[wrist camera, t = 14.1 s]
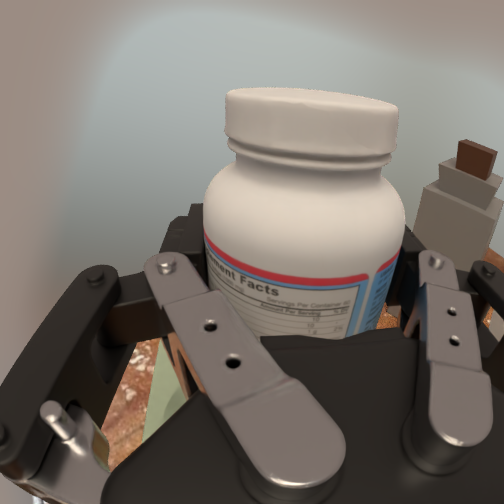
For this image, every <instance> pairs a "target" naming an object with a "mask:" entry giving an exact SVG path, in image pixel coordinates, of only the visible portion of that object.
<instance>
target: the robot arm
mask: <svg viewBox="0 0 504 504" xmlns="http://www.w3.org/2000/svg"><path fill="white" fill-rule="evenodd" d="M385 302H386V304H387V306H401V308H400V311H399V314H398V318H397V327H395V328H385V329H374V330H368V331H365V332H362V333H359V334H356V335H352V336H349V337H346V338H343V339H338V340H334V339H326V338H318V337H311V336H303V335H279V336H260V341H259V340H258V338H257V337H256V336H255V334H254V333H253V332H252V330H251V329H250V328H249V326H248V325H247V324H246V322H245V321H244V320H243V318H242V317H241V316H240V314H239V313H238V312H237V310H236V309H235V308H234V306H233V305H232V304H231V302H230V301H229V300H228V298H227V297H226V296H225V294H224V293H223V292H222V291H221V290H220V289H219V288H217V289H214V290H209V289H208V279H207V267H206V254H205V242H204V227H203V203H201V204H191V207H190V211H189V214H188V216H178V217H177V218H175V219H174V220H173V221H172V222H171V223H170V225H169V227H168V231H167V233H166V235H165V238H164V241H163V243H162V246H161V249H160V251H159V254H157V255H154V256H152V257H151V258H149V259H148V260H147V261H146V262H145V264H144V271H142V272H140V273H137V274H133V275H128V276H123V277H119V276H118V273H117V270H116V269H115V268H114V267H112V266H109V265H96V266H92V267H90V268H87V269H86V270H84V271H82V272H81V273H80V274H79V275H78V276H77V277H76V278H75V280H74V281H73V282H72V283H71V285H70V286H69V287H68V289H67V290H66V291H65V292H64V294H63V295H62V296H61V298H60V299H59V300H58V302H57V303H56V304H55V306H54V307H53V308H52V310H51V311H50V312H49V314H48V315H47V316H46V318H45V319H44V321H43V322H42V323H41V325H40V326H39V328H38V329H37V331H36V332H35V333H34V335H33V336H32V338H31V339H30V341H29V342H28V344H27V345H26V347H25V348H24V350H23V351H22V353H21V354H20V356H19V357H18V359H17V360H16V362H15V364H14V365H13V367H12V368H11V370H10V372H9V373H8V375H7V376H6V378H5V379H4V381H3V383H2V384H1V386H0V472H1V473H2V474H3V476H4V477H6V478H7V479H8V480H10V481H11V482H13V483H14V484H16V485H17V486H19V487H20V488H22V489H23V490H25V491H27V492H28V493H30V494H32V495H33V496H36V497H39V498H40V499H42V500H44V501H46V502H47V503H49V504H504V335H503V336H502V338H501V340H500V341H499V342H498V340H497V339H496V338H495V337H494V335H493V334H492V333H491V332H490V330H489V329H488V328H487V327H486V326H485V324H484V323H483V320H484V318H485V316H486V314H487V312H488V310H489V309H490V307H492V308H493V309H494V310H495V311H496V312H497V313H498V315H499V316H500V317H501V318H502V319H503V321H504V274H503V273H502V272H501V271H500V270H499V269H498V268H497V267H496V266H494V265H492V264H491V263H488V262H486V261H481V260H477V261H474V262H473V264H472V267H471V269H470V272H468V271H463V270H458V269H455V265H454V263H453V261H452V260H451V259H450V258H449V257H448V256H446V255H445V254H443V253H440V252H438V251H434V250H427V249H426V248H425V246H424V245H423V244H422V243H421V242H420V240H419V239H418V238H417V237H416V236H415V235H414V233H413V232H411V230H410V229H409V228H408V227H407V226H406V224H405V231H404V235H403V239H402V245H401V248H400V252H399V256H398V259H397V263H396V266H395V270H394V273H393V277H392V280H391V283H390V286H389V290H388V293H387V296H386V299H385ZM155 338H160V340H161V342H162V344H163V347H164V349H165V351H166V353H167V356H168V358H169V360H170V362H171V365H172V367H173V369H174V371H175V373H176V376H177V378H178V381H179V383H180V386H181V389H182V392H183V394H184V396H185V399H186V402H185V403H184V404H183V405H182V406H181V407H180V408H179V409H178V410H177V411H176V412H175V413H174V414H173V415H172V416H171V417H170V418H169V419H168V420H167V421H166V422H165V423H163V424H162V425H161V426H160V427H159V428H158V429H157V430H156V431H155V432H154V433H153V434H152V435H151V436H150V437H149V438H148V439H146V440H145V441H144V442H143V443H142V444H141V445H140V446H139V447H138V448H137V449H136V450H135V451H133V452H132V453H131V454H130V455H129V456H128V457H127V458H126V459H125V460H124V461H122V462H121V463H120V464H119V465H118V466H117V467H116V468H115V469H114V470H113V471H112V473H111V472H110V470H109V466H108V457H109V443H108V440H107V438H106V437H105V435H104V434H103V433H102V431H101V427H102V425H103V422H104V420H105V417H106V415H107V412H108V410H109V408H110V405H111V403H112V400H113V398H114V395H115V393H116V391H117V388H118V386H119V384H120V381H121V379H122V376H123V374H124V372H125V370H126V367H127V365H128V363H129V360H130V358H131V356H132V354H133V351H134V349H135V347H136V344H137V342H142V341H146V340H151V339H155Z"/></svg>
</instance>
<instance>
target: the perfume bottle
mask: <svg viewBox="0 0 504 504" xmlns="http://www.w3.org/2000/svg"><path fill="white" fill-rule="evenodd" d="M496 155H497V151H495V150H493V149H490V148H487V147H485V146H482V145H480V144H477V143H475V142H472V141H469V140H467V139H466V140H461V141H459V143H458V152H457V158H455V157H454V158H452V159H449V160H447V161H444V162H442V163H439V179H438V180H437V181H435V182H433V183H431V184H429V185H428V186H426V187H424V188H423V193H422V197H421V201H420V205H419V209H418V213H417V217H416V221H415V225H414V229H413V233H414V235H415V236H416V237H417V238H418V239H419V240H420V242H421V243H422V244H423V245H424V246H425V248H426V249H427V250H434V251H438V252H440V253H443V254H445V255H446V256H448V257H449V258H450V259H451V260H452V261H453V263H454V265H455V269H458V270H463V271H468V272H470V269H471V267H472V264H473V262H474V261H477V260H481V261H483V260H484V257H485V255H486V252H487V249H488V247H489V244H490V241H491V239H492V236H493V233H494V230H495V227H496V225H497V222H498V219H499V215H500V212H501V210H502V206H503V203H504V201H502V200H500V199H498V198H496V197H494V196H495V194H496V192H497V190H498V188H499V186H500V184H501V182H502V180H503V178H502V177H500V176H498V175H496V174H494V173H491V172H492V169H493V166H494V162H495V159H496ZM400 308H401V306H389V307H388V310H387V312H388V313H390V314H391V315H393V316H395V317H396V318H398V314H399V311H400Z"/></svg>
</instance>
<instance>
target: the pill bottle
mask: <svg viewBox="0 0 504 504" xmlns="http://www.w3.org/2000/svg"><path fill="white" fill-rule="evenodd" d="M398 117H399V111H398V108H397V107H396V106H395V105H393V104H390V103H387V102H384V101H380V100H376V99H372V98H367V97H362V96H357V95H351V94H344V93H337V92H329V91H320V90H311V89H299V88H276V87H274V88H273V87H271V88H270V87H268V88H267V87H262V88H261V87H260V88H242V89H235V90H231V91H229V92H228V93H227V94H226V126H225V130H224V131H225V134H226V135H227V136H228V137H229V139H228V142H227V144H228V147H229V148H230V149H231V150H232V151H234V152H235V153H236V161H235V162H232V163H231V164H229V165H227V166H226V167H225V168H223V169H222V170H221V171H220V172H219V173H218V174H217V175H216V176H215V177H214V178H213V179H212V181H211V183H210V184H209V187H208V188H207V191H206V194H205V197H204V202H203V227H204V242H205V254H206V267H207V279H208V289H209V290H214V289H217V288H219V289H220V290H221V291H222V292H223V293H224V294H225V296H226V297H227V298H228V300H229V301H230V302H231V304H232V305H233V306H234V308H235V309H236V310H237V312H238V313H239V314H240V316H241V317H242V318H243V320H244V321H245V322H246V324H247V325H248V326H249V328H250V329H251V330H252V332H253V333H254V334H255V336H256V337H257V338H258V340H259V341H260V336H279V335H303V336H311V337H318V338H326V339H334V340H338V339H343V338H346V337H349V336H352V335H356V334H359V333H362V332H365V331H368V330H374V329H376V326H377V323H378V320H379V317H380V314H381V311H382V308H383V305H384V302H385V299H386V296H387V293H388V290H389V286H390V283H391V280H392V277H393V273H394V270H395V266H396V263H397V259H398V256H399V252H400V248H401V245H402V239H403V235H404V231H405V212H404V208H403V204H402V202H401V200H400V197H399V195H398V193H397V192H396V190H395V189H394V187H393V186H392V185H391V184H390V183H389V182H388V181H387V180H386V179H385V178H384V177H383V176H381V175H380V173H381V167H382V166H385V165H387V164H388V163H389V162H390V161H391V154H390V153H391V152H393V151H395V149H396V137H397V129H398Z"/></svg>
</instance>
